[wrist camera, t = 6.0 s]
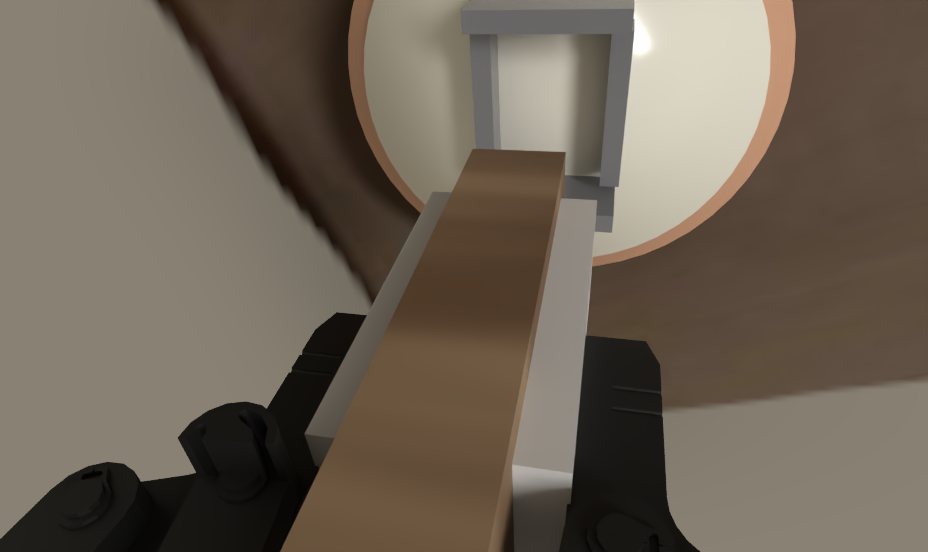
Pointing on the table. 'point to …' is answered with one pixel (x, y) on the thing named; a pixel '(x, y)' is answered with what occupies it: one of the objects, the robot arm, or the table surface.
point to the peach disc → (579, 99)
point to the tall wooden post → (446, 378)
